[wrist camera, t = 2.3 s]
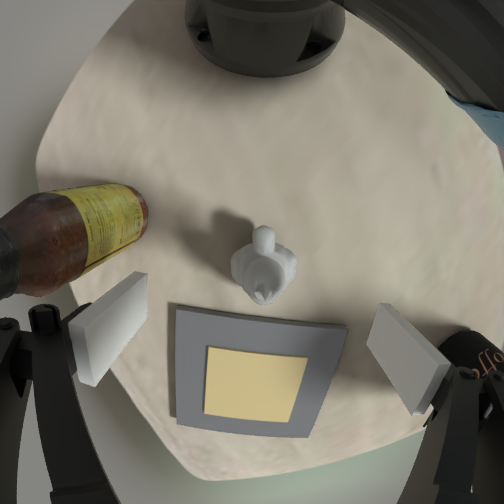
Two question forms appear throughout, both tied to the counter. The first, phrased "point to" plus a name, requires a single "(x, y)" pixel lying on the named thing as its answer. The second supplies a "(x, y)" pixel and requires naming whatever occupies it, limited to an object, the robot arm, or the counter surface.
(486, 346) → the coffee jar
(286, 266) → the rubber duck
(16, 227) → the sauce bottle
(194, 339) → the board
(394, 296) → the counter surface
